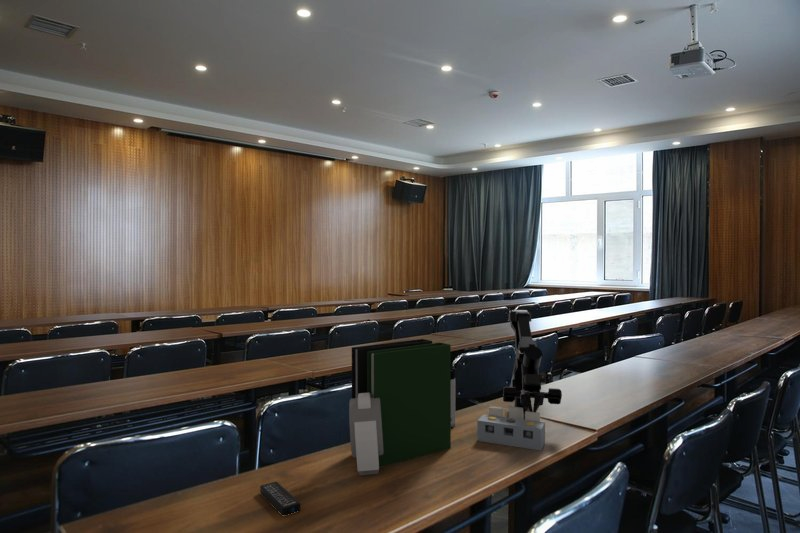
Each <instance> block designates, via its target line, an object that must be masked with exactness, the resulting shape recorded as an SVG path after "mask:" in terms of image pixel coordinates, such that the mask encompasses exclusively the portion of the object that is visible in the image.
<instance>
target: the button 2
mask: <svg viewBox="0 0 800 533" xmlns="http://www.w3.org/2000/svg"><path fill="white" fill-rule="evenodd" d="M508 418H515V419H522V420H524V412H523V408H521V407H514V406H511V405H510V406H508ZM509 430H510V431H513V429H512V428H509Z"/></svg>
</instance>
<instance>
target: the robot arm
mask: <svg viewBox="0 0 800 533" xmlns="http://www.w3.org/2000/svg"><path fill="white" fill-rule="evenodd" d="M508 321H509V322H510V328H511V330H513V332H514V342H515V362H516V363H515V365H516V369H515V371H514V373H513V375H512V378H511V380H510V381H511V382H510V386H504V387H503V388H502V390H503V391H502V401H503V402H505V403H513V402H514V406H513V407H521V408H523V413H524V412H526V411H529V412H537V413H538V410H539V407H540V406H543V405H544V401H545V400H544V399H547V402H548V403H549V404H550V405H561V403H562V396H563V394H562V390H561V389H560V388H551V387H549V388H548V391H547V392H546V391H545V392H544V391H541V389H542V384H546V383H547V375H546V374H547V373H546V372H540V371H539V368H540V366H541V362H542V358H543V351H542V350H541V349H540V348H539V347H538V345H537V342H536V341H535V340H534V339H533V337H532V331H531V326H530V323H531V322H532V312H529V311H528V310H527V309H511V312H510V311H509V312H508ZM532 399H533V405H532ZM532 406H533V407H532Z"/></svg>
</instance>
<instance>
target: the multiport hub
mask: <svg viewBox="0 0 800 533" xmlns="http://www.w3.org/2000/svg"><path fill="white" fill-rule="evenodd" d="M260 493H261V494H262V495H263V496H264V497H265V498H266V499H267V500H268V501H269V502H270V503H271V504H272V505H273V506H274V507H275V508H276V509H277V510H278V511H279V512H280V513H281V514H282V515H288V514H291V513H294V512H297V511H300V512H301V502H300V501H299V500H298V499H297V498H296V497H295V496H294V495H293V494H291V493H290V492H289V491H288V490H287V489H285V488H284V487H283V486H282V485H281V483H279V481H272V482H268V483H265V484H261V485H260V487H259V494H260ZM261 494H260V495H261ZM262 495H261V496H262ZM263 496H262V497H263ZM264 497H263V498H264ZM265 498H264V499H265ZM266 499H265V500H266ZM267 500H266V501H267ZM268 501H267V502H268ZM269 502H268V503H269ZM270 503H269V504H270ZM271 504H270V505H271ZM272 505H271V506H272ZM273 506H272V507H273ZM274 507H273V508H274ZM275 508H274V509H275ZM297 513H298V512H297ZM294 514H295V513H294ZM291 515H292V514H291ZM288 516H289V515H288Z"/></svg>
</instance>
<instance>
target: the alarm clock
mask: <svg viewBox="0 0 800 533" xmlns="http://www.w3.org/2000/svg"><path fill="white" fill-rule="evenodd" d="M348 402H349V405H348V420H349V422H348V423H349V437H350V438H349V439H350V451H351V456H352V458H356V470H357V472H358V476H368V475H378V474H379V470H380V467H379V457H378V455H383V453H384V451H383V435H382V420H381V406H380V398H374V397H370V393H359V394H358V398H353V399H352V398H350V399H349V401H348Z"/></svg>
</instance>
